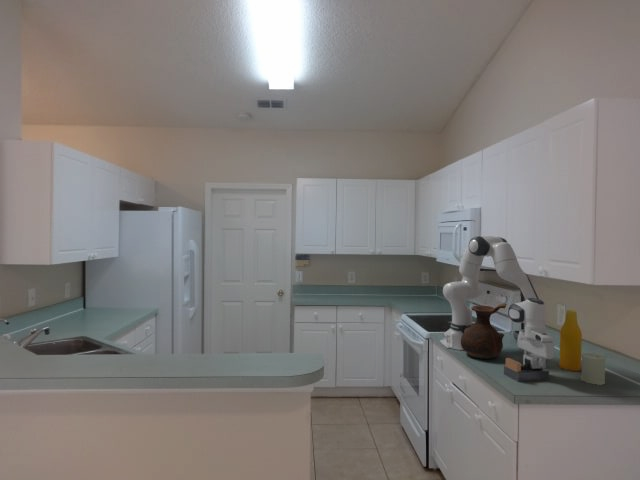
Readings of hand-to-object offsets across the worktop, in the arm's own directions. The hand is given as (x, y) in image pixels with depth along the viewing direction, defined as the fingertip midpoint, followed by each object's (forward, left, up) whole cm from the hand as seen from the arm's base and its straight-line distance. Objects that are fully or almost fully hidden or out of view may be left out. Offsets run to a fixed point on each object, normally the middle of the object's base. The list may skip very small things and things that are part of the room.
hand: (534, 362), depth 188 cm
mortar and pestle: (-52, +36, -7) cm, 63 cm away
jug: (-33, -5, -7) cm, 34 cm away
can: (+10, +23, -7) cm, 26 cm away
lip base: (0, -4, -6) cm, 8 cm away
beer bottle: (-7, +27, -7) cm, 28 cm away
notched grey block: (0, 0, -2) cm, 2 cm away
